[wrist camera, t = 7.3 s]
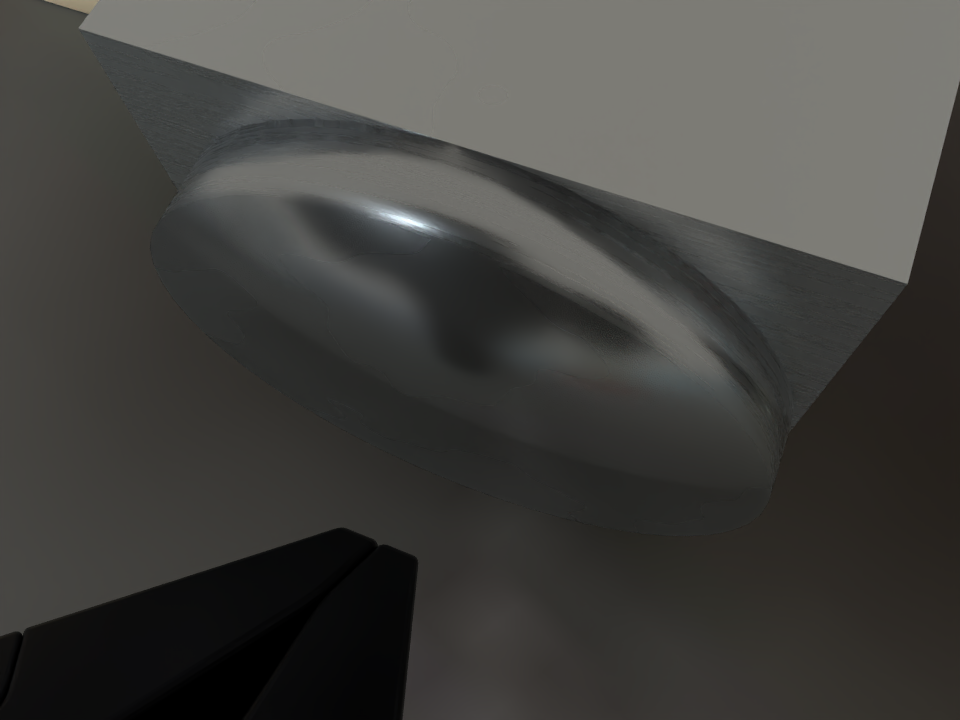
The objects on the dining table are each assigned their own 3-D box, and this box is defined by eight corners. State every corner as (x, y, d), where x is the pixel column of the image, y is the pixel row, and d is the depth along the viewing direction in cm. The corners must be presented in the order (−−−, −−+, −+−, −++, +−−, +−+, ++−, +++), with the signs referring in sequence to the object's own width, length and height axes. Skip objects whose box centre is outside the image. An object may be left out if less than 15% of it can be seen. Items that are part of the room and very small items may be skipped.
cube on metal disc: (702, 577, 12) (882, 386, 6) (254, 405, 13) (22, 103, 7) (843, 119, 15) (1064, -331, 9) (463, 13, 16) (424, -445, 10)
